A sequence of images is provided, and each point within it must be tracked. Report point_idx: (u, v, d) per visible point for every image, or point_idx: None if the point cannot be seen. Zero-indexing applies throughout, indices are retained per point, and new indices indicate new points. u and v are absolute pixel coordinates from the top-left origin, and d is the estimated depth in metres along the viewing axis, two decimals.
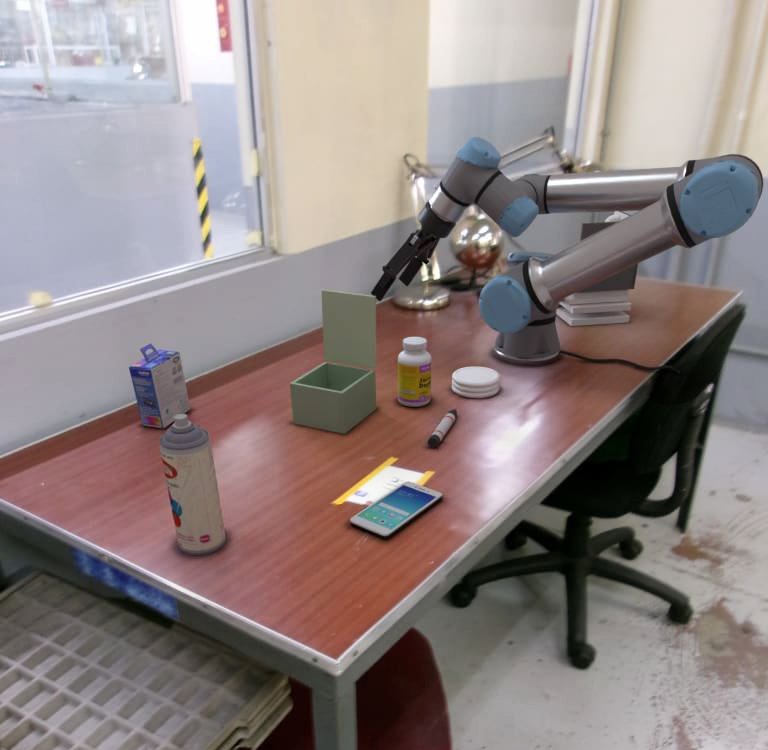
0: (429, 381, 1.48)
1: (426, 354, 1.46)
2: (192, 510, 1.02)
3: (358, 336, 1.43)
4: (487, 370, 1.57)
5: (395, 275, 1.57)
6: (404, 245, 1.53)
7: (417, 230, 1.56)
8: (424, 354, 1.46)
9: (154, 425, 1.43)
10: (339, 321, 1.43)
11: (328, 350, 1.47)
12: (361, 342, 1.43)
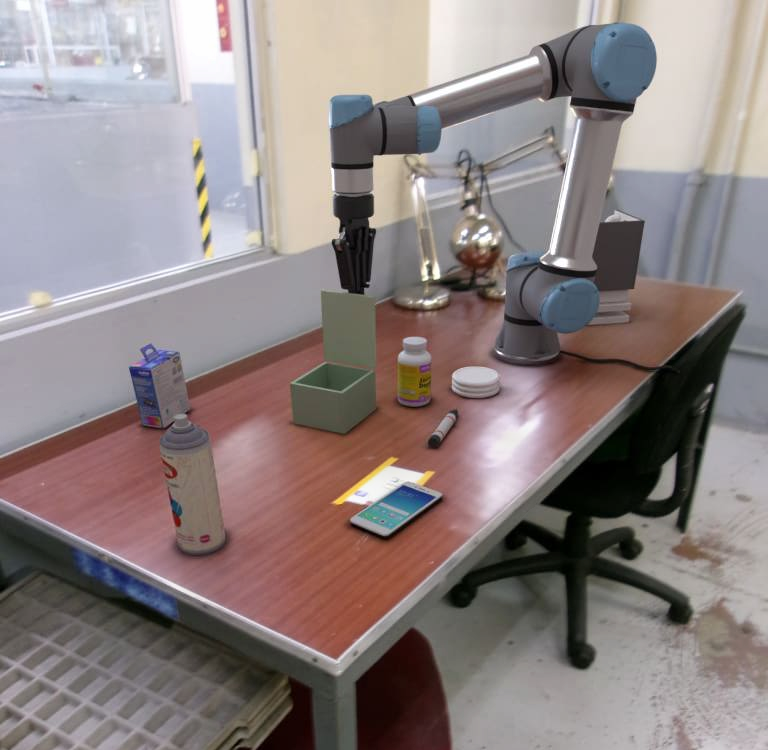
0: (429, 381, 1.48)
1: (426, 354, 1.46)
2: (192, 510, 1.02)
3: (358, 336, 1.43)
4: (487, 370, 1.57)
5: (357, 287, 1.41)
6: (337, 256, 1.36)
7: None
8: (424, 354, 1.46)
9: (154, 425, 1.43)
10: (338, 321, 1.43)
11: (328, 350, 1.47)
12: (361, 342, 1.43)
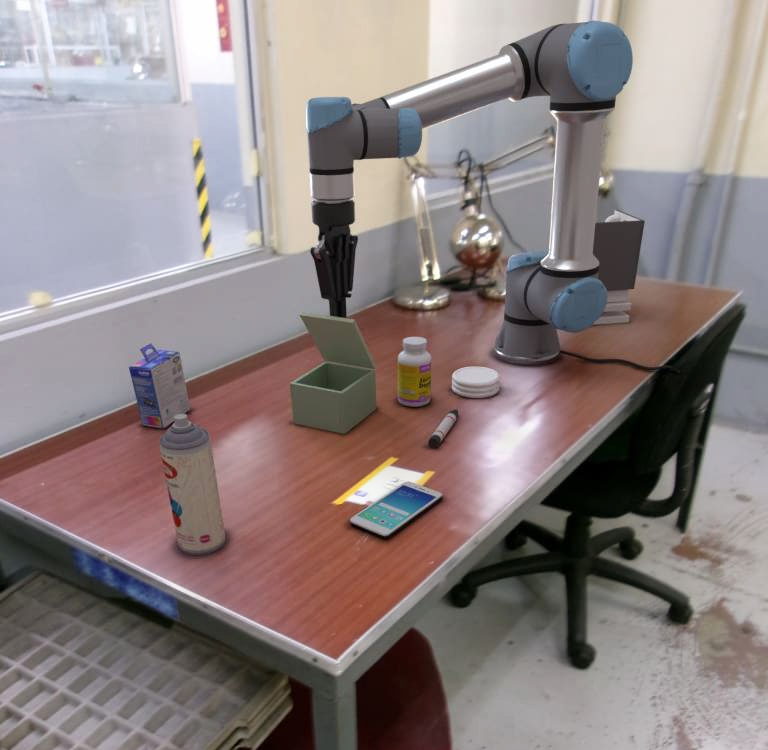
0: (429, 381, 1.48)
1: (426, 354, 1.46)
2: (192, 510, 1.02)
3: (350, 348, 1.41)
4: (487, 370, 1.57)
5: (338, 297, 1.35)
6: (316, 264, 1.30)
7: None
8: (424, 354, 1.46)
9: (154, 425, 1.43)
10: (326, 336, 1.41)
11: (325, 355, 1.47)
12: (355, 352, 1.42)
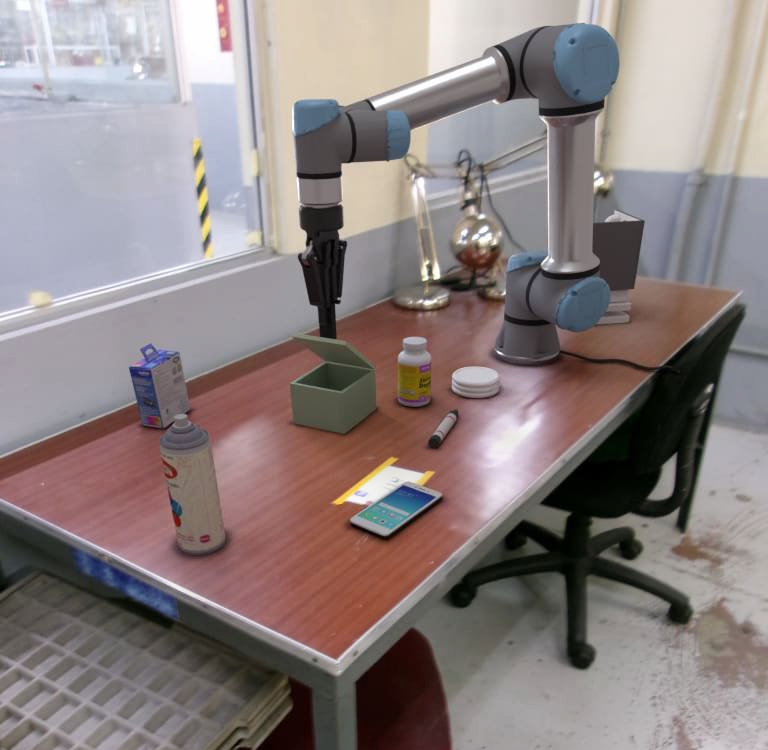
0: (429, 381, 1.48)
1: (426, 354, 1.46)
2: (192, 510, 1.02)
3: (347, 357, 1.41)
4: (487, 370, 1.57)
5: (327, 304, 1.32)
6: (304, 271, 1.27)
7: None
8: (424, 354, 1.46)
9: (154, 425, 1.43)
10: (322, 349, 1.40)
11: (325, 358, 1.47)
12: (352, 359, 1.41)
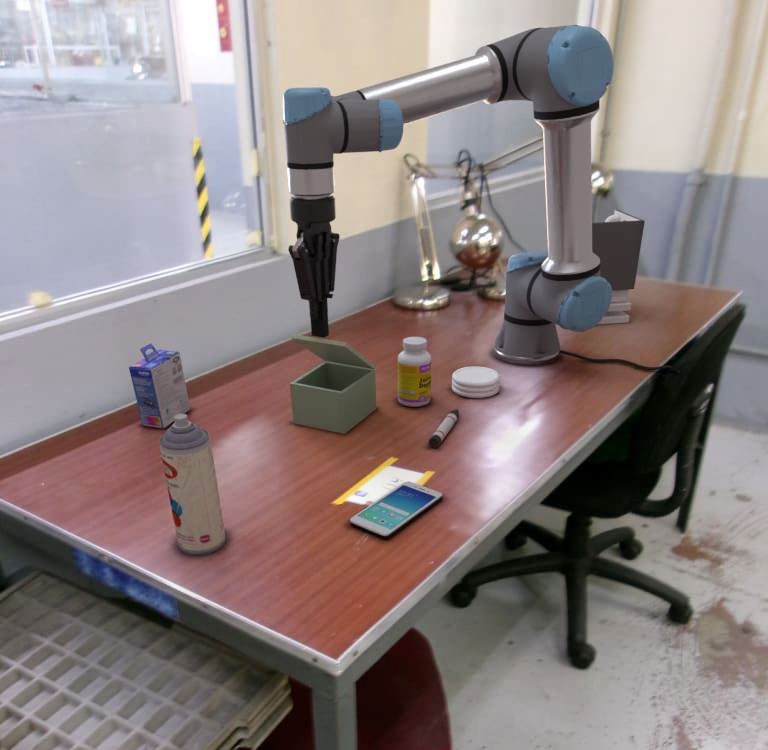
0: (429, 381, 1.48)
1: (426, 354, 1.46)
2: (192, 510, 1.02)
3: (347, 357, 1.41)
4: (487, 370, 1.57)
5: (318, 298, 1.29)
6: (295, 263, 1.24)
7: None
8: (424, 354, 1.46)
9: (154, 425, 1.43)
10: (322, 350, 1.40)
11: (325, 358, 1.47)
12: (352, 360, 1.41)
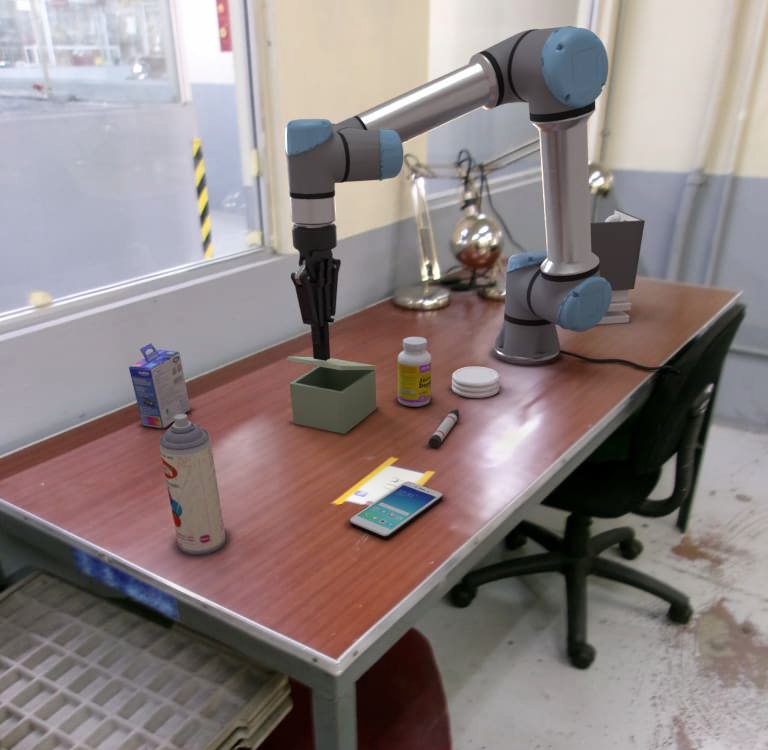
0: (429, 381, 1.48)
1: (426, 354, 1.46)
2: (192, 510, 1.02)
3: None
4: (487, 370, 1.57)
5: (320, 322, 1.32)
6: (297, 290, 1.27)
7: None
8: (424, 354, 1.46)
9: (154, 425, 1.43)
10: None
11: None
12: None
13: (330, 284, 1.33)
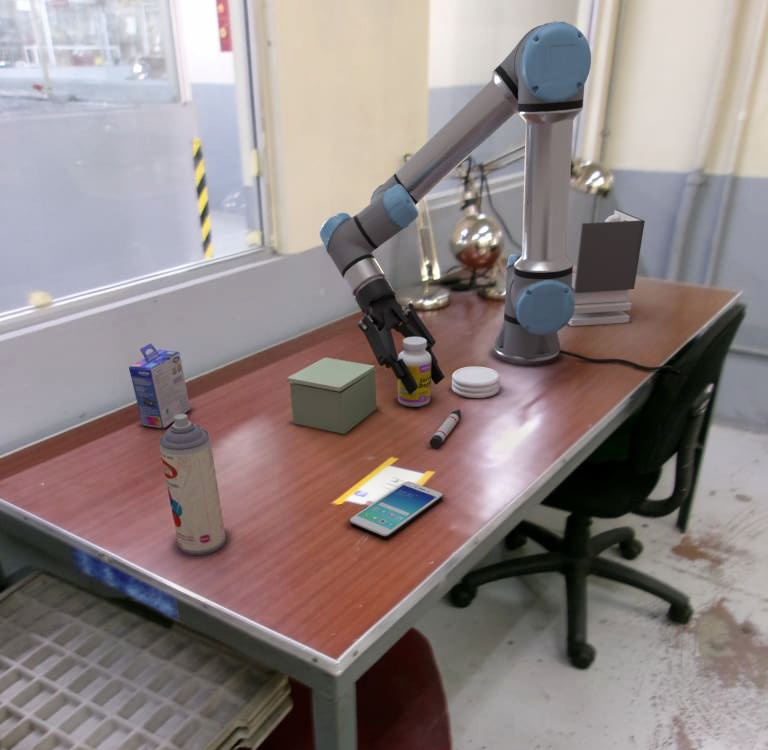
0: (429, 381, 1.48)
1: (426, 354, 1.46)
2: (192, 510, 1.02)
3: None
4: (487, 370, 1.57)
5: (393, 356, 1.44)
6: (366, 335, 1.46)
7: None
8: (424, 354, 1.45)
9: (154, 425, 1.43)
10: None
11: None
12: None
13: (415, 324, 1.51)
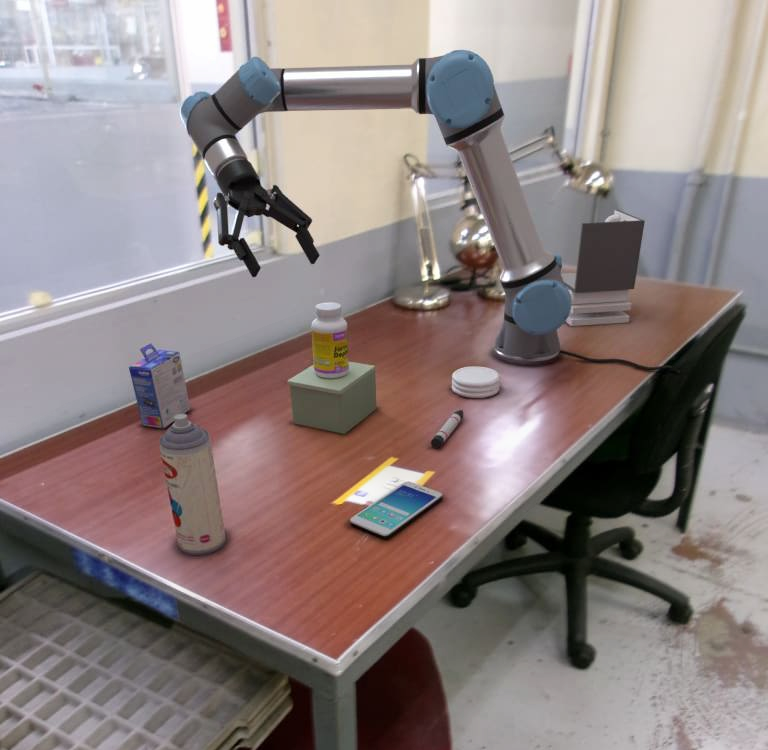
0: (345, 350, 1.38)
1: (341, 321, 1.35)
2: (192, 510, 1.02)
3: None
4: (487, 370, 1.57)
5: (233, 234, 1.35)
6: (217, 213, 1.37)
7: None
8: (339, 321, 1.35)
9: (154, 425, 1.43)
10: None
11: None
12: None
13: (286, 206, 1.44)
